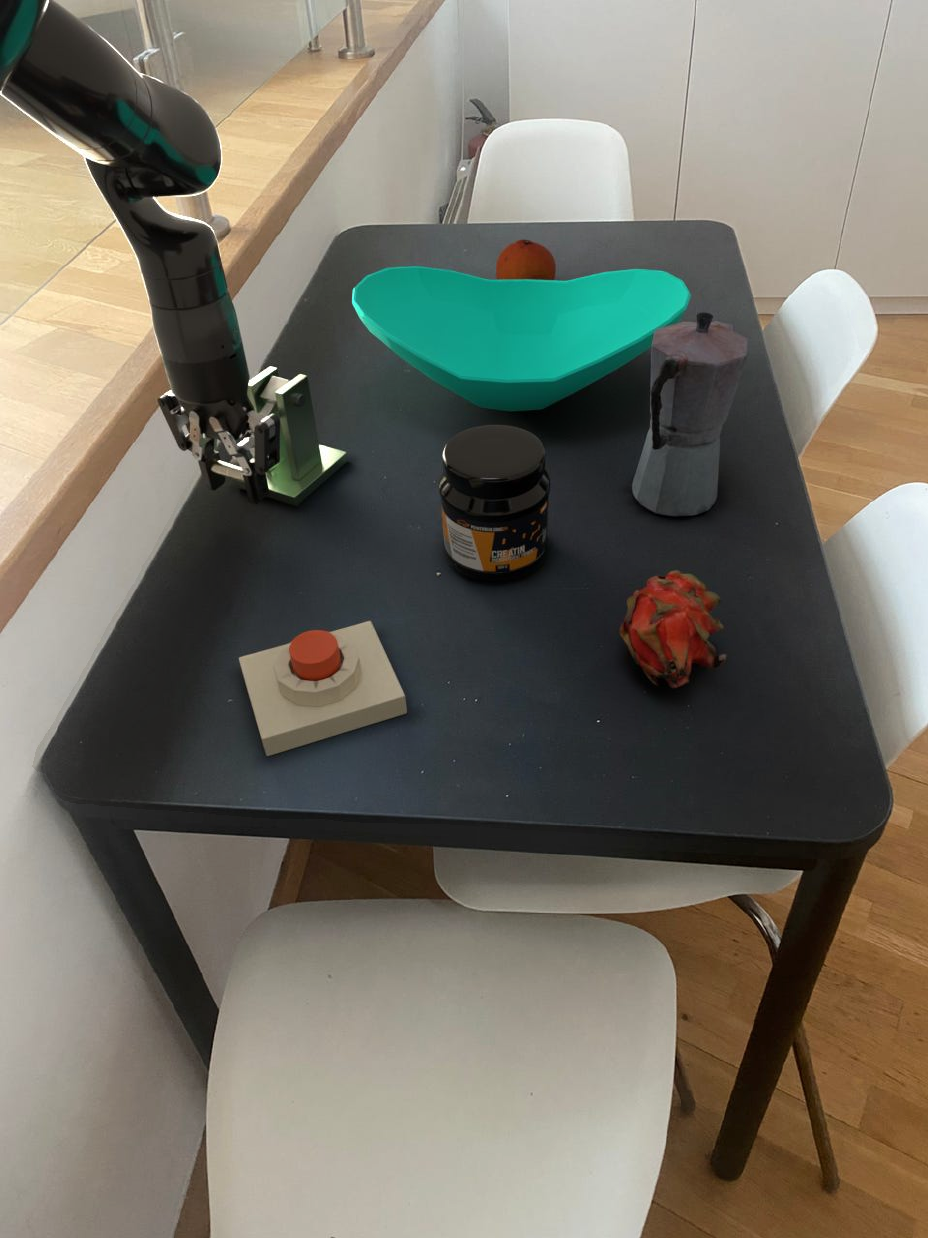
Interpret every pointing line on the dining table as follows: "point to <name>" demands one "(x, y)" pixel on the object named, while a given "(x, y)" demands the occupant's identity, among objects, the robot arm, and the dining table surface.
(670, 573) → the dragon fruit
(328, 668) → the button
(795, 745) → the dining table surface
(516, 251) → the fruit
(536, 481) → the supplement container
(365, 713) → the button base
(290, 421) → the switch bracket
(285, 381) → the switch lever
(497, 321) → the table top decor
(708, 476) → the moka pot
